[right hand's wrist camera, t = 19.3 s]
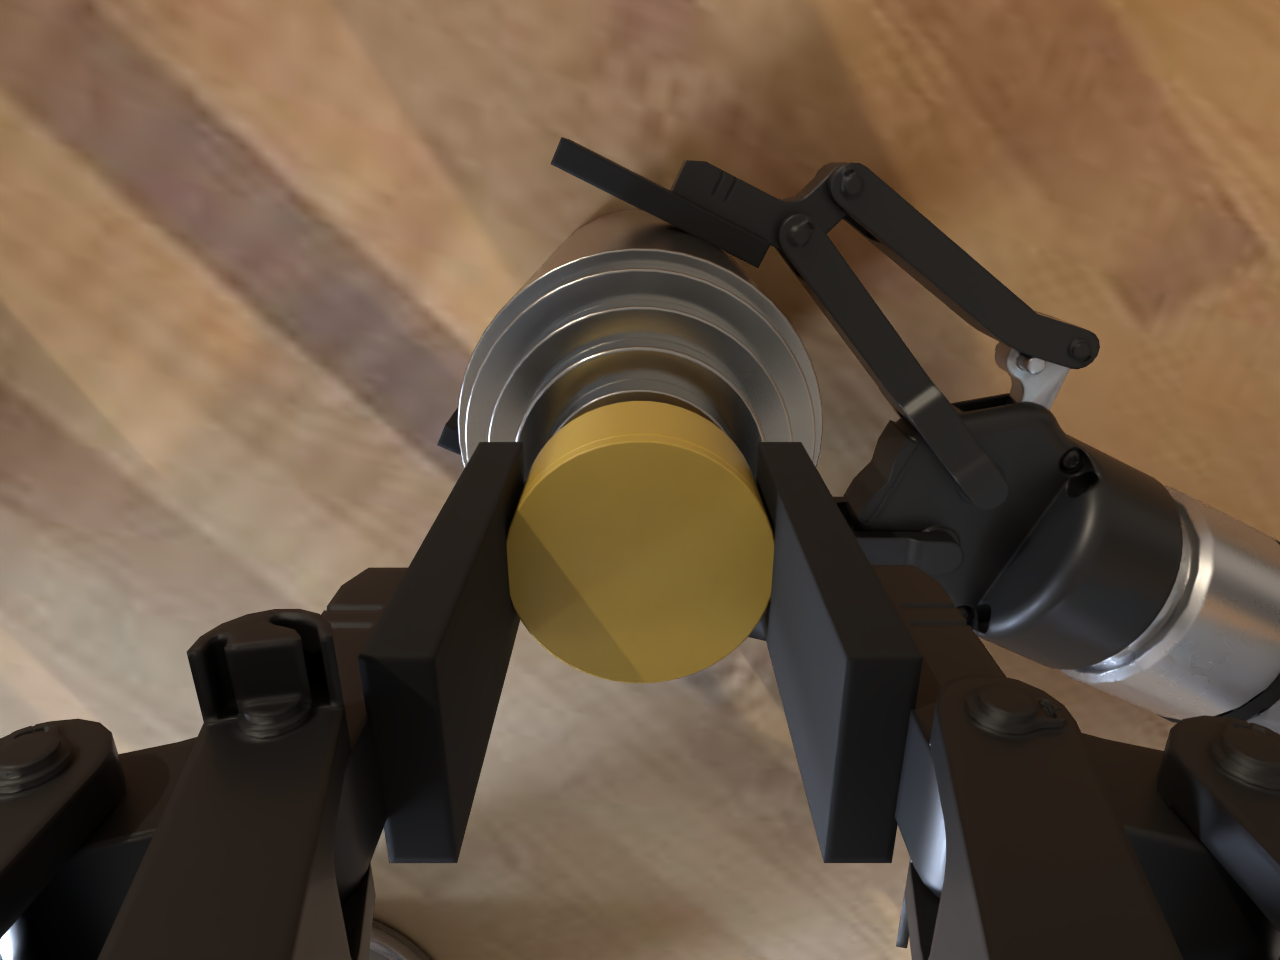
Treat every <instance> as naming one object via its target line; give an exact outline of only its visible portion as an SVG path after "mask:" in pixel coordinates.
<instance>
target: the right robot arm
mask: <svg viewBox="0 0 1280 960" xmlns="http://www.w3.org/2000/svg"><path fill="white" fill-rule="evenodd" d="M524 485H525V470H524V453H523V442H479V444H478V446H477V448H476V449H475V451H474V453H473V455H472V456H471V458H470V460H469V462H468V464H467V465H466V467H465V469H464V471H463V472H462V474H461V476H460V478H459V479H458V481H457V483H456V485H455V486H454V488H453V490H452V492H451V493H450V495H449V497H448V499H447V501H446V502H445V504H444V506H443V508H442V509H441V511H440V513H439V515H438V516H437V518H436V520H435V522H434V523H433V525H432V527H431V529H430V531H429V532H428V534H427V536H426V538H425V539H424V541H423V543H422V545H421V546H420V548H419V550H418V552H417V553H416V555H415V557H414V559H413V560H412V562H411V564H410V566H409V568H368V569H366V570H365V571H363V572H361V573H360V574H358V575H357V576H355V577H354V578H352V579H351V580H349V581H348V582H346V583H345V584H343V585H342V586H341V587H340V589H339V590H338V592H337V593H336V594H335V596H334V597H333V599H332V600H331V602H330V603H329V604H328V606H327V611H324V612H323V613H322V614H321V615H320V614H318V613H314V612H310V611H306V610H302V609H273V610H268V611H263V612H257V613H252V614H247V615H244V616H242V617H239V618H236V619H234V620H231V621H228V622H225V623H223V624H221V625H219V626H217V627H216V628H214V629H212V630H211V631H209V632H207V633H206V634H204V635H202V636H201V637H200V638H199V639H198V640H197V641H196V642H195V643H194V644H193V645H192V646H191V648H190V649H189V650H188V651H187V655H188V659H189V664H190V668H191V672H192V676H193V680H194V684H195V688H196V692H197V696H198V700H199V704H200V708H201V712H202V716H203V720H204V724H203V726H202V728H201V731H200V733H199V735H198V737H195V738H192V739H188V740H184V741H181V742H177V743H172V744H167V745H162V746H157V747H152V748H148V749H143V750H138V751H133V752H128V753H123V754H118V752H117V749H116V746H115V742H114V739H113V736H112V733H111V732H110V731H109V730H108V729H107V728H106V727H104V726H103V725H102V724H101V723H99V722H94V721H88V720H82V719H71V720H61V721H50V722H46V723H41V724H36V725H35V726H33V727H32V726H29V727H26V728H23V729H20V730H17V731H15V732H13V733H11V734H10V735H7V736H5V737H3V738H1V739H0V953H1V955H2V959H1V960H368V958H369V949H370V940H371V931H372V922H373V913H374V904H375V889H374V882H373V876H372V870H371V864H370V861H371V859H372V856H373V853H374V851H375V848H376V846H377V843H378V840H379V838H380V835H381V833H382V830H383V827H384V831H385V837H386V844H387V850H388V857H389V863H457V861H458V857H459V853H460V849H461V845H462V842H463V838H464V834H465V830H466V826H467V822H468V819H469V815H470V811H471V807H472V803H473V799H474V795H475V792H476V788H477V784H478V780H479V776H480V772H481V769H482V765H483V761H484V757H485V753H486V749H487V745H488V742H489V738H490V734H491V730H492V726H493V722H494V718H495V715H496V711H497V707H498V703H499V699H500V695H501V692H502V688H503V684H504V680H505V676H506V672H507V668H508V665H509V661H510V657H511V653H512V649H513V645H514V641H515V638H516V634H517V630H518V626H519V622H520V618H519V616H518V614H517V612H516V610H515V608H514V606H513V604H512V601H511V598H510V588H509V574H508V559H507V543H506V540H507V534H508V530H509V527H510V524H511V521H512V518H513V516H514V513H515V510H516V507H517V504H518V501H519V499H520V496H521V493H522V490H523V487H524ZM756 485H757V488H758V491H759V494H760V496H761V499H762V502H763V505H764V508H765V510H766V513H767V516H768V519H769V522H770V524H771V527H772V530H773V534H774V558H773V573H772V587H771V598H770V601H769V603H768V606H767V608H766V610H765V612H764V614H763V616H762V617H761V623H762V626H763V630H764V634H765V638H766V642H767V646H768V650H769V653H770V657H771V661H772V665H773V669H774V673H775V676H776V680H777V684H778V688H779V692H780V696H781V700H782V703H783V707H784V711H785V715H786V719H787V723H788V726H789V730H790V734H791V738H792V742H793V746H794V750H795V753H796V757H797V761H798V765H799V769H800V773H801V776H802V780H803V784H804V788H805V792H806V796H807V800H808V803H809V807H810V811H811V815H812V819H813V823H814V826H815V830H816V834H817V838H818V842H819V846H820V850H821V853H822V857H823V861H824V863H892V856H893V850H894V843H895V837H896V831H897V824H898V826H899V829H900V831H901V834H902V836H903V839H904V842H905V844H906V847H907V849H908V852H909V855H910V857H911V858H910V864H909V870H908V876H907V882H906V888H905V894H904V900H903V906H902V912H901V918H900V924H899V930H898V937H897V944H896V946H897V947H903V948H907V945H908V939H909V938H910V947H911V956H912V960H1280V734H1278V733H1276V732H1274V731H1272V730H1271V729H1269V728H1267V727H1264V726H1261V725H1258V724H1255V723H1252V722H1251V723H1248V722H1247V721H1244V720H1239V719H1234V718H1227V717H1216V716H1206V715H1203V716H1197V717H1192V718H1186V719H1182V720H1181V721H1180V722H1179V723H1177V724H1176V725H1175V726H1174V727H1173V728H1171V730H1170V733H1169V737H1168V740H1167V743H1166V747H1165V750H1164V751H1160V750H1155V749H1150V748H1146V747H1141V746H1136V745H1131V744H1126V743H1121V742H1116V741H1111V740H1106V739H1102V738H1099V737H1095V736H1091V735H1087V734H1084V733H1081V731H1080V729H1079V727H1078V725H1077V722H1076V721H1075V720H1074V718H1073V717H1072V716H1071V714H1070V713H1069V712H1068V710H1067V709H1066V708H1065V706H1064V705H1063V704H1061V703H1060V702H1058V701H1057V700H1056V699H1054V698H1053V697H1051V696H1050V695H1048V694H1047V693H1046V692H1044V691H1042V690H1040V689H1038V688H1035V687H1033V686H1031V685H1028V684H1026V683H1024V682H1021V681H1019V680H1015V679H1010V678H1007V677H1006V676H1005V675H1004V673H1003V672H1002V670H1001V669H1000V668H999V666H998V665H997V663H996V662H995V660H994V659H993V658H992V656H991V655H990V653H989V652H988V651H987V649H986V648H985V646H984V645H983V643H982V642H981V641H980V639H979V638H978V636H977V635H976V634H975V632H974V631H973V629H972V628H971V626H970V625H967V621H966V619H965V618H964V617H963V615H962V614H961V612H960V611H959V609H958V608H955V607H954V602H953V601H952V600H951V598H950V597H949V595H948V594H947V592H946V591H945V590H944V588H943V587H942V585H941V584H940V583H939V582H938V581H936V580H934V579H933V578H931V577H930V576H928V575H927V574H925V573H924V572H922V571H921V570H919V569H918V568H916V567H915V566H913V565H871V564H870V562H869V560H868V559H867V557H866V555H865V553H864V552H863V550H862V548H861V546H860V545H859V543H858V541H857V539H856V538H855V536H854V534H853V532H852V531H851V529H850V527H849V525H848V523H847V522H846V520H845V518H844V516H843V515H842V513H841V511H840V509H839V508H838V506H837V504H836V502H835V501H834V499H833V497H832V495H831V494H830V492H829V490H828V488H827V486H826V485H825V483H824V481H823V479H822V478H821V476H820V474H819V472H818V471H817V469H816V467H815V465H814V464H813V462H812V460H811V458H810V457H809V455H808V453H807V451H806V449H805V448H804V446H803V444H802V442H758V452H757V469H756Z"/></svg>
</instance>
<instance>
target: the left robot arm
mask: <svg viewBox="0 0 1280 960" xmlns="http://www.w3.org/2000/svg"><path fill="white" fill-rule="evenodd" d="M551 164H552V165H554V166H556V167H558V168H560V169H562V170H564V171H566V172H568V173H570V174H572V175H574V176H576V177H578V178H580V179H582V180H584V181H586V182H588V183H590V184H592V185H594V186H596V187H598V188H600V189H602V190H604V191H606V192H608V193H610V194H612V195H614V196H616V197H618V198H619V199H621V200H623V201H625V202H627V203H629V204H631V205H633V206H635V207H637V208H639V209H641V210H643V211H645V212H647V213H649V214H651V215H653V216H655V217H657V218H659V219H661V220H663V221H665V222H667V223H669V224H671V225H673V226H675V227H677V228H679V229H681V230H683V231H685V232H687V233H689V234H691V235H693V236H695V237H697V238H699V239H701V240H704V241H706V242H708V243H709V244H711V245H713V246H715V247H717V248H719V249H721V250H723V251H725V252H727V253H729V254H731V255H733V256H735V257H737V258H739V259H741V260H743V261H745V262H747V263H749V264H751V265H753V266H755V267H757V268H758V267H759V265H760V264H761V262H762V260H763V258H764V256H765V254H766V252H767V250H768V248H769V246H770V245H772V246H774V247H775V248H776V250H777V251H778V253H779V254H780V255H781V257H782V258H783V259H784V261H785V262H786V263H787V265H788V266H789V267H790V269H791V270H792V271H793V273H794V274H795V275H796V277H797V278H798V279H799V281H800V282H801V283H802V285H803V286H804V287H805V289H806V290H807V291H808V293H809V294H810V296H811V297H812V298H813V300H814V301H815V302H816V304H817V305H818V306H819V308H820V309H821V310H822V312H823V313H824V314H825V316H826V317H827V318H828V320H829V321H830V322H831V324H832V325H833V326H834V328H835V329H836V330H837V332H838V333H839V334H840V336H841V337H842V339H843V340H844V341H845V343H846V344H847V345H848V347H849V348H850V349H851V351H852V352H853V353H854V355H855V356H856V357H857V359H858V360H859V361H860V363H861V364H862V365H863V367H864V368H865V369H866V371H867V372H868V373H869V375H870V376H871V377H872V379H873V380H874V382H875V383H876V384H877V386H878V387H879V389H880V391H881V392H882V394H883V395H884V397H885V398H886V399H887V401H888V402H889V403H890V405H891V406H892V407H893V409H894V410H895V411H896V413H897V414H898V415H899V417H900V419H899V420H898V421H897V422H894V421H891V420H890V421H889V423H888V424H887V426H886V427H885V429H884V431H883V432H882V434H881V436H880V437H879V439H878V442H877V445H876V448H875V452H874V455H873V458H872V460H871V462H870V463H869V464H868V465H867V466H866V467H865V468H864V469H863V470H862V471H861V472H860V473H859V474H858V475H857V476H856V477H855V478H854V479H853V481H852V483H851V484H850V486H849V487H848V489H847V491H846V492H845V494H844V497H833V499H834V501H835V502H836V504H837V506H838V508H839V509H840V511H841V513H842V515H843V516H844V518H845V520H846V522H847V523H848V525H849V527H850V529H851V531H852V532H853V534H854V536H855V538H856V539H857V541H858V543H859V545H860V546H861V548H862V550H863V552H864V553H865V555H866V557H867V559H868V560H869V562H870V564H871V565H913V566H915V567H916V568H918V569H919V570H921V571H922V572H924V573H925V574H927V575H928V576H930V577H931V578H933V579H934V580H936V581H938V582H939V583H940V584H941V585H942V587H943V588H944V590H945V591H946V592H947V594H948V595H949V597H950V598H951V600H952V601H953V602H954V607H955V608H958V609H959V611H960V612H961V614H962V615H963V617H964V618H965V619H966V621H967V625H970V626H971V628H972V629H973V631H974V632H975V634H976V635H977V636H978V637H980V638H983V639H985V640H987V641H990V642H992V643H994V644H996V645H999V646H1001V647H1003V648H1005V649H1008V650H1010V651H1012V652H1015V653H1017V654H1019V655H1021V656H1024V657H1026V658H1028V659H1031V660H1033V661H1035V662H1037V663H1040V664H1042V665H1044V666H1047V667H1050V668H1054V669H1058V670H1060V671H1061V672H1063V673H1064V674H1066V675H1067V676H1068V677H1070V678H1072V679H1075V680H1077V681H1079V682H1082V683H1084V684H1086V685H1089V686H1091V687H1094V688H1096V689H1098V690H1101V691H1103V692H1106V693H1108V694H1110V695H1113V696H1115V697H1117V698H1120V699H1122V700H1125V701H1127V702H1129V703H1132V704H1134V705H1136V706H1139V707H1141V708H1144V709H1146V710H1148V711H1151V712H1153V713H1155V714H1157V715H1159V716H1161V717H1163V718H1165V719H1167V720H1169V721H1172V722H1176V723H1179V722H1180V721H1181V720H1182V719H1186V718H1192V717H1197V716H1203V715H1206V716H1216V717H1227V718H1234V719H1239V720H1244V721H1247V722H1248V723H1251V722H1252V723H1255V724H1258V725H1261V726H1264V727H1267V728H1269V729H1271V730H1272V731H1274V732H1276V733H1278V734H1280V542H1279V541H1277V540H1275V539H1274V538H1272V537H1270V536H1268V535H1266V534H1265V533H1263V532H1261V531H1259V530H1257V529H1255V528H1253V527H1251V526H1249V525H1247V524H1245V523H1243V522H1241V521H1239V520H1237V519H1235V518H1233V517H1231V516H1229V515H1227V514H1225V513H1223V512H1221V511H1219V510H1217V509H1215V508H1213V507H1211V506H1209V505H1207V504H1205V503H1203V502H1201V501H1199V500H1197V499H1195V498H1193V497H1191V496H1189V495H1187V494H1185V493H1183V492H1181V491H1178V490H1176V489H1173V488H1171V487H1169V486H1163V485H1162V484H1161V483H1160V482H1158V481H1157V480H1156V479H1155V478H1153V477H1151V476H1149V475H1147V474H1145V473H1143V472H1141V471H1139V470H1137V469H1135V468H1133V467H1131V466H1129V465H1127V464H1125V463H1123V462H1121V461H1119V460H1117V459H1115V458H1113V457H1111V456H1109V455H1107V454H1105V453H1103V452H1101V451H1099V450H1097V449H1095V448H1093V447H1091V446H1089V445H1087V444H1085V443H1083V442H1081V441H1079V440H1077V439H1075V438H1073V437H1071V436H1069V435H1067V434H1065V433H1064V432H1063V430H1062V429H1061V428H1060V426H1059V424H1058V422H1057V420H1056V418H1055V417H1054V415H1053V414H1052V413H1051V412H1050V411H1049V409H1050V407H1051V405H1052V403H1053V401H1054V399H1055V397H1056V395H1057V393H1058V391H1059V389H1060V388H1061V386H1062V384H1063V382H1064V380H1065V378H1066V376H1067V374H1068V372H1069V370H1070V369H1080V368H1083V367H1086V366H1087V365H1089V364H1090V363H1092V362H1093V360H1094V359H1095V358H1096V356H1097V355H1098V351H1099V348H1100V346H1099V340H1098V338H1097V336H1096V335H1095V334H1094V333H1092V332H1090V331H1089V330H1086V329H1083V328H1081V327H1078V326H1075V325H1073V324H1070V323H1068V322H1065V321H1062V320H1060V319H1057V318H1054V317H1052V316H1049V315H1046V314H1042V313H1039V312H1036V311H1033V310H1032V309H1031V308H1030V307H1029V306H1028V305H1026V304H1025V303H1024V302H1023V301H1022V300H1021V299H1019V298H1018V297H1017V296H1016V295H1015V294H1014V293H1013V292H1011V291H1010V290H1009V289H1008V288H1007V287H1006V286H1004V285H1003V284H1002V283H1001V282H1000V281H999V280H997V279H996V278H995V277H994V276H993V275H992V274H990V273H989V272H988V271H987V270H986V269H985V268H983V267H982V266H981V265H980V264H979V263H978V262H976V261H975V260H974V259H973V258H972V257H971V256H969V255H968V254H967V253H966V252H965V251H964V250H963V249H961V248H960V247H959V246H958V245H957V244H956V243H954V242H953V241H952V240H951V239H950V238H949V237H947V236H946V235H945V234H944V233H943V232H942V231H940V230H939V229H938V228H937V227H936V226H935V225H933V224H932V223H931V222H930V221H929V220H928V219H926V218H925V217H924V216H923V215H922V214H921V213H919V212H918V211H917V210H916V209H915V208H914V207H913V206H911V205H910V204H909V203H908V202H907V201H906V200H904V199H903V198H902V197H901V196H900V195H899V194H897V193H896V192H895V191H894V190H893V189H892V188H890V187H889V186H888V185H887V184H886V183H885V182H883V181H882V180H881V179H880V178H879V177H878V176H876V175H875V174H874V173H873V172H872V171H871V170H870V169H868V168H867V167H866V166H864V165H862V164H860V163H843V162H840V163H829V164H827V165H824V166H823V167H822V168H821V169H820V170H819V171H818V172H817V174H816V176H815V178H814V179H813V180H812V181H811V182H810V183H809V184H808V185H807V186H806V187H805V188H804V189H803V190H802V191H800V192H799V193H798V194H797V195H795V196H793V197H791V198H789V199H783V200H781V199H777V198H775V197H773V196H771V195H769V194H767V193H765V192H763V191H761V190H759V189H757V188H755V187H753V186H752V185H750V184H748V183H746V182H744V181H742V180H740V179H738V178H736V177H734V176H732V175H730V174H728V173H727V172H724V171H723V170H721V169H719V168H717V167H715V166H713V165H711V164H709V163H707V162H703V161H688V160H684V162H683V164H682V166H681V168H680V170H679V173H678V175H677V177H676V179H675V181H674V183H673V186H672V188H671V190H668V189H666V188H664V187H662V186H660V185H658V184H656V183H654V182H652V181H650V180H648V179H646V178H644V177H642V176H640V175H638V174H636V173H634V172H632V171H630V170H628V169H626V168H624V167H622V166H620V165H619V164H617V163H615V162H613V161H611V160H609V159H607V158H605V157H603V156H601V155H599V154H597V153H595V152H593V151H591V150H589V149H587V148H585V147H583V146H581V145H579V144H577V143H575V142H573V141H571V140H569V139H566V138H562V137H561V140H560V142H559V145H558V147H557V150H556V152H555V155H554V157H553V160H552V162H551ZM842 219H844V220H845V221H846V222H847V223H848V224H850V225H851V226H852V227H853V228H854V229H856V230H857V231H858V232H859V233H860V234H862V235H863V236H864V237H865V238H866V239H868V240H869V241H870V242H871V243H872V244H874V245H875V246H876V247H877V248H878V249H880V250H881V251H882V252H883V253H884V254H886V255H887V256H888V257H889V258H890V259H892V260H893V261H894V262H895V263H896V264H898V265H899V266H900V267H901V268H902V269H904V270H905V271H906V272H907V273H908V274H910V275H911V276H912V277H913V278H914V279H916V280H917V281H918V282H919V283H920V284H922V285H923V286H924V287H925V288H926V289H928V290H929V291H930V292H931V293H932V294H934V295H935V296H936V297H937V298H938V299H940V300H941V301H942V302H943V303H944V304H946V305H947V306H948V307H949V308H950V309H952V310H953V311H954V312H955V313H956V314H958V315H959V316H960V317H961V318H962V319H964V320H965V321H966V322H967V323H969V324H970V325H971V326H973V327H974V328H975V329H977V330H978V331H980V332H982V333H984V334H986V335H988V336H990V337H992V338H994V339H995V340H997V341H999V343H998V344H997V345H996V349H995V351H996V352H995V361H996V364H997V365H998V366H999V367H1000V368H1001V369H1003V370H1004V371H1005V372H1007V373H1008V374H1009V376H1010V377H1011V381H1012V388H1011V391H1010V393H1008V394H1001V395H995V396H990V397H984V398H978V399H973V400H967V401H961V402H955V403H949V401H948V400H947V399H946V397H945V396H944V395H943V394H942V392H941V391H940V390H939V389H938V388H937V387H936V386H935V385H934V383H933V382H932V381H931V380H930V378H929V377H928V375H927V374H926V373H925V371H924V370H923V368H922V367H921V366H920V364H919V363H918V361H917V360H916V359H915V357H914V356H913V354H912V353H911V352H910V350H909V349H908V348H907V346H906V345H905V343H904V342H903V341H902V339H901V338H900V336H899V335H898V334H897V332H896V331H895V329H894V328H893V327H892V325H891V324H890V322H889V321H888V320H887V318H886V317H885V315H884V314H883V313H882V311H881V310H880V308H879V307H878V306H877V304H876V303H875V301H874V300H873V299H872V297H871V296H870V294H869V293H868V292H867V290H866V289H865V288H864V286H863V285H862V283H861V282H860V281H859V279H858V278H857V276H856V275H855V274H854V272H853V271H852V269H851V268H850V267H849V265H848V264H847V262H846V261H845V260H844V258H843V257H842V255H841V254H840V253H839V251H838V250H837V248H836V247H835V246H834V244H833V243H832V241H831V240H830V239H829V237H828V236H827V235H826V234H827V233H828V232H829V231H830V230H831V229H832V228H833V227H834V226H835V225H836V224H837V223H838V222H839V221H841V220H842ZM458 412H459V407H458V408H457V410H456V411H455V412H454V414H453V415H452V416H451V418H450V419H449V421H448V422H447V423H446V425H445V427H444V430H443V432H442V435H441V437H440V440H439V442H438V446H441V447H443V448H445V449H448V450H450V451H452V452H455V453H457V454H459V455H462V454H461V449H460V445H459V431H458ZM748 637H751V638H755V639H760V640H764V641H766V638H765V634H764V630H763V626H762V623H761V619H760V621H759V623H758V624H757V625H756V627H755V628H754V629H753V631H752V632H751V633H750V635H749V636H748ZM1 959H2V955H1V953H0V960H1ZM368 960H430V959H429V958H428V957H427V955H426V954H425V953H424V952H422V951H421V950H420V949H419V948H418V947H417V946H416V945H415V944H413V943H412V942H411V941H409V940H408V939H407V938H405V937H404V936H402V935H401V934H399V933H398V932H396V931H394V930H392V929H390V928H389V927H387V926H385V925H383V924H380V923H378V922H376V921H374V920H373V922H372V931H371V940H370V949H369V958H368Z"/></svg>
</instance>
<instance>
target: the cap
mask: <svg viewBox="0 0 1280 960" xmlns="http://www.w3.org/2000/svg"><path fill="white" fill-rule="evenodd" d="M506 543H507V559H508V574H509V588H510V598H511V601H512V604H513V606H514V608H515V610H516V612H517V614H518V616H519V618H520V619H521V621H522V623H523V624H524V625H525V627H526V628H527V630H528V631H529V632H530V634H531V635H532V636H533V637H534V638H535V639H536V640H537V641H538V642H539V643H540V644H541V645H542V646H543V647H544V648H545V649H546V650H548V651H549V652H550V653H551V654H552V655H554V656H555V657H557V658H558V659H560V660H561V661H563V662H564V663H566V664H568V665H570V666H572V667H574V668H576V669H578V670H580V671H582V672H585V673H587V674H590V675H593V676H596V677H599V678H603V679H608V680H612V681H618V682H627V683H654V682H664V681H669V680H673V679H678V678H682V677H685V676H688V675H691V674H694V673H697V672H699V671H701V670H703V669H705V668H707V667H710V666H711V665H713V664H715V663H716V662H718V661H720V660H721V659H723V658H724V657H726V656H727V655H728V654H730V653H731V652H732V651H733V650H735V649H736V648H737V647H738V646H739V645H740V644H741V643H742V642H743V641H744V640H745V639H746V638H747V637H748V636H749V635H750V633H751V632H752V631H753V629H754V628H755V627H756V625H757V624H758V623H759V621H760V619H761V617H762V616H763V614H764V612H765V610H766V608H767V606H768V603H769V601H770V598H771V587H772V573H773V558H774V534H773V530H772V527H771V524H770V522H769V519H768V516H767V513H766V510H765V508H764V505H763V502H762V499H761V496H760V494H759V491H758V488H757V485H756V483H755V480H754V477H753V474H752V472H751V469H750V467H749V465H748V463H747V461H746V459H745V458H744V456H743V454H742V453H741V451H740V450H739V449H738V447H737V446H736V445H735V443H734V442H733V441H732V440H731V439H730V438H729V437H728V436H727V435H726V434H725V433H724V432H723V431H722V430H721V429H719V428H718V427H717V426H715V425H714V424H713V423H712V422H710V421H708V420H707V419H705V418H703V417H701V416H700V415H698V414H696V413H694V412H691V411H689V410H686V409H684V408H682V407H678V406H674V405H670V404H667V403H660V402H653V401H629V402H620V403H615V404H611V405H607V406H603V407H600V408H597V409H595V410H592V411H589V412H587V413H585V414H583V415H581V416H579V417H578V418H576V419H574V420H572V421H571V422H570V423H568V424H567V425H565V426H564V427H563V428H561V429H560V430H559V431H558V432H557V433H556V434H555V435H554V436H553V437H552V438H551V439H550V440H549V441H548V442H547V443H546V445H545V446H544V447H543V448H542V450H541V451H540V452H539V454H538V456H537V457H536V459H535V461H534V463H533V464H532V467H531V469H530V472H529V474H528V476H527V479H526V482H525V485H524V487H523V490H522V493H521V496H520V499H519V501H518V504H517V507H516V510H515V513H514V516H513V518H512V521H511V524H510V527H509V530H508V534H507V540H506Z"/></svg>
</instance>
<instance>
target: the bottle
mask: <svg viewBox="0 0 1280 960" xmlns="http://www.w3.org/2000/svg"><path fill="white" fill-rule="evenodd" d="M629 401H653V402H660V403H667V404H670V405H674V406H678V407H682V408H684V409H686V410H689V411H691V412H694V413H696V414H698V415H700V416H701V417H703V418H705V419H707V420H708V421H710V422H712V423H713V424H714V425H715V426H717V427H718V428H719V429H721V430H722V431H723V432H724V433H725V434H726V435H727V436H728V437H729V438H730V439H731V440H732V441H733V442H734V443H735V445H736V446H737V447H738V449H739V450H740V451H741V453H742V454H743V456H744V458H745V459H746V461H747V463H748V465H749V467H750V469H751V472H752V474H753V477H754V480H755V483H756V469H757V452H758V442H802V444H803V446H804V448H805V449H806V451H807V453H808V455H809V457H810V458H811V460H812V462H813V464H814V465H815V467H816V465H817V461H818V457H819V453H820V447H821V438H822V429H823V427H822V403H821V397H820V391H819V385H818V381H817V378H816V375H815V371H814V368H813V365H812V362H811V359H810V357H809V355H808V353H807V351H806V349H805V347H804V345H803V342H802V340H801V339H800V337H799V336H798V334H797V333H796V331H795V329H794V328H793V326H792V325H791V323H790V322H789V320H788V319H787V318H786V317H785V316H784V314H783V313H782V312H781V311H780V310H779V309H778V308H777V306H776V305H775V304H774V303H773V302H772V301H771V300H770V299H769V298H768V297H767V295H766V294H765V293H764V292H763V291H762V290H761V289H760V288H759V287H758V286H757V285H756V284H755V283H754V282H753V280H752V279H751V278H750V277H749V276H748V275H747V274H746V273H745V272H744V271H743V270H742V269H741V268H740V267H739V265H738V264H737V263H736V262H735V261H734V260H733V259H732V258H731V257H730V256H729V255H728V254H727V253H726V252H725V251H723V250H721V249H719V248H717V247H715V246H713V245H711V244H709V243H708V242H706V241H704V240H701V239H699V238H697V237H695V236H693V235H691V234H689V233H687V232H685V231H683V230H681V229H679V228H677V227H675V226H673V225H671V224H669V223H667V222H665V221H663V220H661V219H659V218H657V217H655V216H653V215H651V214H649V213H647V212H645V211H643V210H641V209H632V210H623V211H618V212H614V213H610V214H607V215H604V216H602V217H599V218H597V219H594V220H592V221H591V222H589V223H587V224H585V225H584V226H582V227H581V228H579V229H578V230H577V231H575V232H574V233H573V234H572V235H570V236H569V237H568V238H567V239H566V240H565V241H564V242H563V243H562V244H561V245H560V246H559V247H558V249H557V250H556V251H555V252H554V253H553V254H552V255H551V256H550V257H549V258H548V259H547V260H546V262H545V263H544V264H543V265H542V266H541V267H540V268H539V269H538V270H537V271H536V272H535V273H534V274H533V276H532V277H531V278H530V279H529V280H528V281H527V282H526V283H525V284H524V285H523V286H522V287H521V288H520V290H519V291H518V292H517V293H516V294H515V295H514V296H513V297H512V298H511V299H510V300H509V301H508V303H507V304H506V305H505V306H504V307H503V308H502V309H501V310H500V311H499V312H498V314H497V315H496V316H495V318H494V319H493V320H492V322H491V323H490V324H489V326H488V327H487V329H486V330H485V331H484V333H483V335H482V337H481V338H480V340H479V342H478V344H477V346H476V348H475V350H474V351H473V353H472V356H471V359H470V361H469V364H468V367H467V370H466V372H465V375H464V380H463V384H462V389H461V393H460V398H459V412H458V431H459V445H460V449H461V454H462V459H463V464H464V468H465V467H466V465H467V464H468V462H469V460H470V458H471V456H472V455H473V453H474V451H475V449H476V448H477V446H478V444H479V442H523V453H524V470H525V482H526V479H527V476H528V474H529V472H530V469H531V467H532V464H533V463H534V461H535V459H536V457H537V456H538V454H539V452H540V451H541V450H542V448H543V447H544V446H545V445H546V443H547V442H548V441H549V440H550V439H551V438H552V437H553V436H554V435H555V434H556V433H557V432H558V431H559V430H560V429H561V428H563V427H564V426H565V425H567V424H568V423H570V422H571V421H572V420H574V419H576V418H578V417H579V416H581V415H583V414H585V413H587V412H589V411H592V410H595V409H597V408H600V407H603V406H607V405H611V404H615V403H620V402H629Z"/></svg>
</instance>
